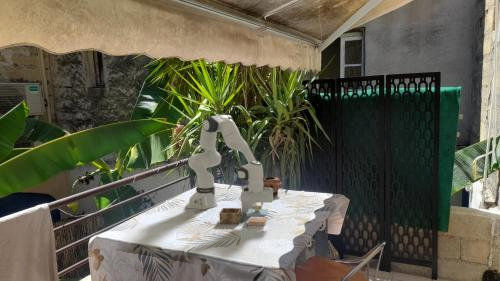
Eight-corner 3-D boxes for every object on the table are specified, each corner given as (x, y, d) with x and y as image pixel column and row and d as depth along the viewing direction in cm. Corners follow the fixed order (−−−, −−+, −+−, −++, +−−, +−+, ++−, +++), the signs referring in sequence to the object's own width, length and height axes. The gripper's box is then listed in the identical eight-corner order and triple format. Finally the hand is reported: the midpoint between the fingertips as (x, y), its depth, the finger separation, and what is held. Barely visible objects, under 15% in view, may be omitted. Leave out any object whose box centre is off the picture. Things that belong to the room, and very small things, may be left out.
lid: (246, 217, 215) (246, 207, 215) (249, 211, 225) (248, 202, 224) (266, 217, 214) (265, 208, 213) (267, 212, 223) (267, 203, 223)
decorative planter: (257, 198, 270) (257, 180, 268) (256, 193, 282) (255, 176, 280) (283, 196, 271) (282, 179, 269) (280, 192, 283) (280, 175, 282)
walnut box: (219, 224, 219) (219, 213, 218) (223, 218, 229) (223, 207, 228) (238, 224, 217) (238, 213, 216) (241, 218, 227) (241, 208, 226)
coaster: (247, 224, 216) (247, 224, 216) (250, 218, 226) (250, 217, 226) (265, 225, 214) (265, 224, 214) (267, 218, 225) (267, 218, 225)
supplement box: (254, 214, 235) (253, 192, 233) (241, 213, 237) (240, 192, 235) (257, 209, 244) (256, 188, 242) (244, 209, 245) (243, 188, 243)
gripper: (273, 186, 219) (274, 207, 221) (241, 186, 222) (242, 207, 224) (272, 188, 213) (273, 210, 214) (239, 188, 216) (240, 210, 217)
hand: (257, 209), depth 219 cm, fingers closed on lid, 3 cm apart
